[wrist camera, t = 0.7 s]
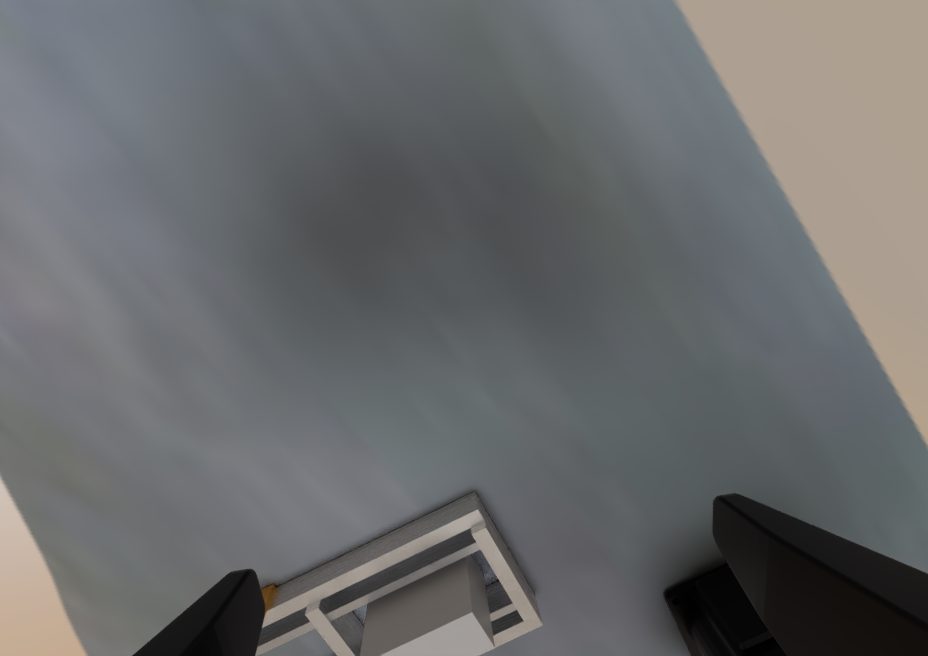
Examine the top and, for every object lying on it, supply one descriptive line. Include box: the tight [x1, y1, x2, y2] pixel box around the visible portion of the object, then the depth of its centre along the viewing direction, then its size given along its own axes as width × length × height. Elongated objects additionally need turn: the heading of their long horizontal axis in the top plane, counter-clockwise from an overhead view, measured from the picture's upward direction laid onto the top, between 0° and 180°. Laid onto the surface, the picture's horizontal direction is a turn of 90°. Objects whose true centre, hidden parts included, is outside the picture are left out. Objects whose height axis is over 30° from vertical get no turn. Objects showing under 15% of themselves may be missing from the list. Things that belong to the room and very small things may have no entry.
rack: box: [255, 492, 543, 656], centre depth 24 cm, size 8×20×2 cm, turn 117°
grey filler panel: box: [360, 554, 495, 656], centre depth 23 cm, size 2×6×4 cm, turn 117°
